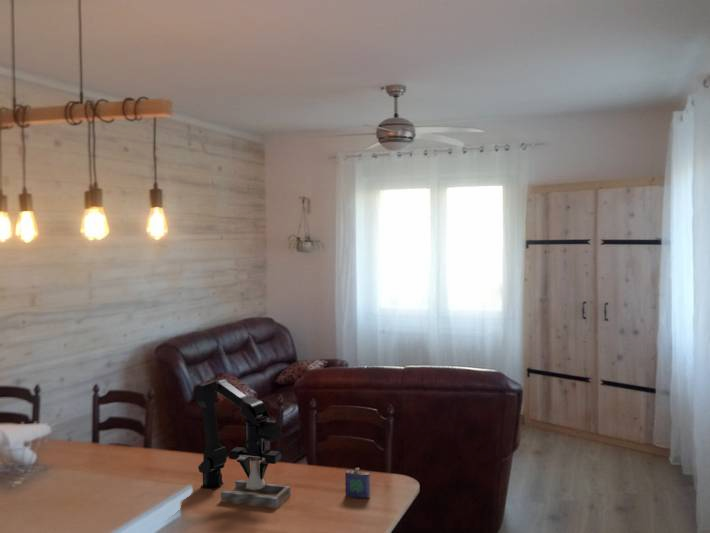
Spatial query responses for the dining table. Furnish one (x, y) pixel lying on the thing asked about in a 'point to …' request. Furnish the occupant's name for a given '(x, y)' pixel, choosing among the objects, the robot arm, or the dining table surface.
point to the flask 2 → (357, 484)
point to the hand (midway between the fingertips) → (255, 478)
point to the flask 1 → (255, 476)
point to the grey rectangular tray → (257, 495)
